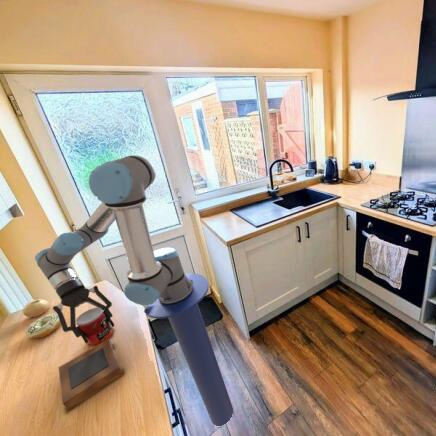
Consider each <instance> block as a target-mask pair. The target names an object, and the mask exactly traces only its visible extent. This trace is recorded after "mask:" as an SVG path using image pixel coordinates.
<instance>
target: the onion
mask: <svg viewBox="0 0 436 436" xmlns="http://www.w3.org/2000/svg"><path fill="white" fill-rule="evenodd" d="M49 307H50V303H49V302H48V300H46V299H43V298H39V297H37V298H36V299H33V300H30V301H29V302H27V303H26V304H25V305H24V307H23V309H22V313H23V315H24V316H25V317H28V318H34V317H38V316H41V315H43V314H44V313H45V312H47V311H48V309H49Z"/></svg>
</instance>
